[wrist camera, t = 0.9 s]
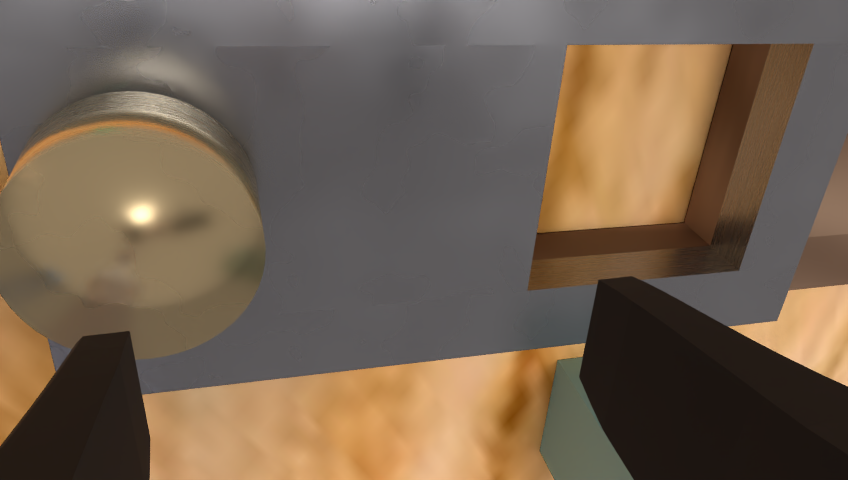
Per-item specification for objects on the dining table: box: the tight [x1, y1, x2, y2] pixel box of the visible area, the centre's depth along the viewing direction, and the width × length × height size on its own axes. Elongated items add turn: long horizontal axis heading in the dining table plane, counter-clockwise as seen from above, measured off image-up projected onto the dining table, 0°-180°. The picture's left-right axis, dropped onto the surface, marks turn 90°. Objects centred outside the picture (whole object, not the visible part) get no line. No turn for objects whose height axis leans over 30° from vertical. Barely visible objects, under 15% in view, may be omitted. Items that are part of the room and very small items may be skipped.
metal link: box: [0, 0, 848, 394], centre depth 18 cm, size 11×21×5 cm, turn 86°
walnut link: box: [532, 44, 848, 290], centre depth 21 cm, size 11×21×4 cm, turn 86°
